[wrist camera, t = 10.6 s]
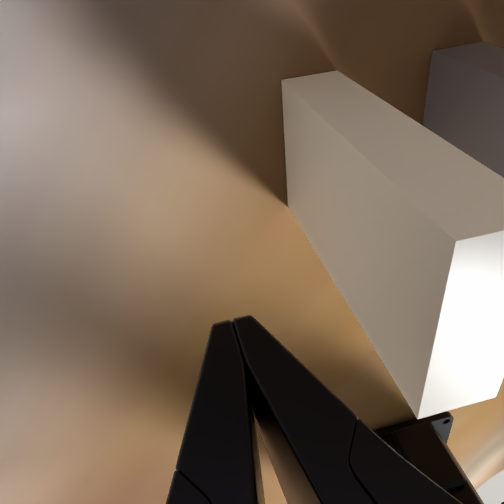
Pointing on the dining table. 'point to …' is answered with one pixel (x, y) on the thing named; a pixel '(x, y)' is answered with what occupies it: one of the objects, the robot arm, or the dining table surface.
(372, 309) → the domino head
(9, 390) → the dining table surface
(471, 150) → the domino
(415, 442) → the robot arm
